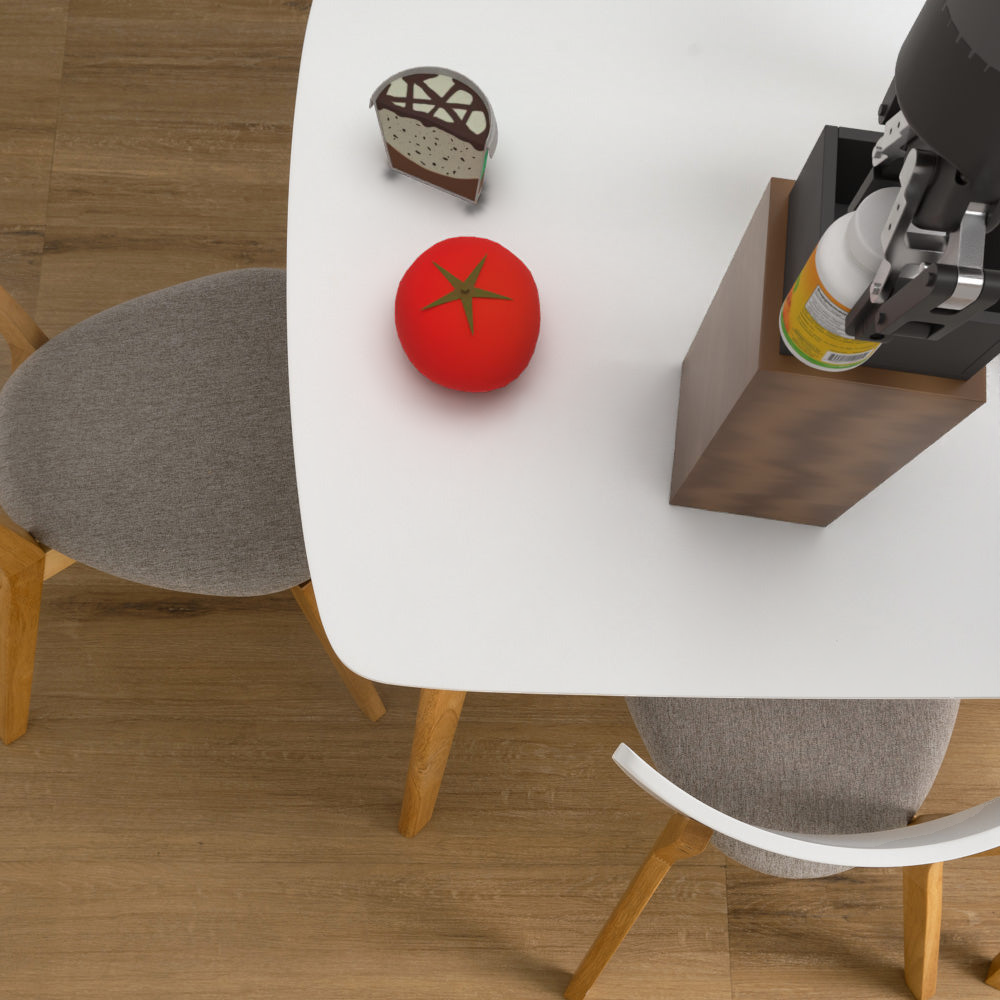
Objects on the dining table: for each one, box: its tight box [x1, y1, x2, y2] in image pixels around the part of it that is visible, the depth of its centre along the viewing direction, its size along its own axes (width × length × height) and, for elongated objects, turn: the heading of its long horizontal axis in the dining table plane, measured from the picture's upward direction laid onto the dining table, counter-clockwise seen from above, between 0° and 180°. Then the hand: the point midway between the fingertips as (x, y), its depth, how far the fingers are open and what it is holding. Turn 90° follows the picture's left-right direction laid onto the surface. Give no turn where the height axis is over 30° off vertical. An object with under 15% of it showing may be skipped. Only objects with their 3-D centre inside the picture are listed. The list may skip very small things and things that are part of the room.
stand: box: [668, 176, 987, 528], centre depth 74 cm, size 14×14×28 cm
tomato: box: [394, 235, 542, 393], centre depth 85 cm, size 14×13×10 cm
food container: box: [368, 65, 499, 205], centre depth 91 cm, size 12×6×10 cm, turn 65°
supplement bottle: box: [779, 187, 946, 372], centre depth 47 cm, size 5×5×10 cm
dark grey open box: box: [779, 124, 1000, 381], centre depth 58 cm, size 12×12×7 cm
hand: (866, 274), depth 46 cm, fingers closed on supplement bottle, 5 cm apart
